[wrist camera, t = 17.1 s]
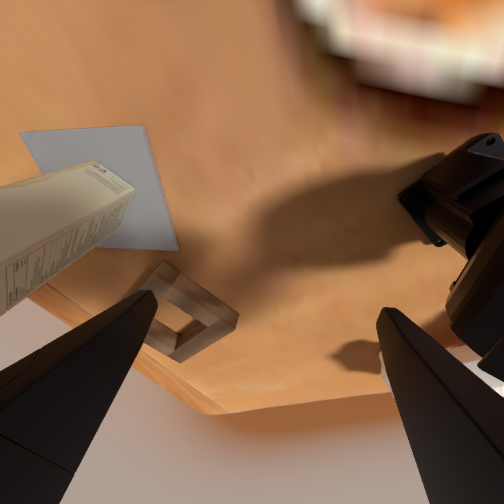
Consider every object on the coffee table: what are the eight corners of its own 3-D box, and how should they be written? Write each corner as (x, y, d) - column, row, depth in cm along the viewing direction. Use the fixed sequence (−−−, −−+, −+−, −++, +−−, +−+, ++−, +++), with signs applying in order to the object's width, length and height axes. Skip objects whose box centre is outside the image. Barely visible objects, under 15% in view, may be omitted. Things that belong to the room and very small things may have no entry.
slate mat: (144, 124, 18) (140, 125, 17) (179, 248, 24) (177, 250, 24) (25, 131, 20) (18, 132, 19) (87, 244, 26) (83, 246, 26)
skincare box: (95, 158, 19) (-120, 209, 9) (139, 190, 20) (-10, 268, 10) (81, 207, 22) (-89, 286, 12) (120, 233, 24) (-8, 324, 14)
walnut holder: (239, 314, 29) (235, 329, 27) (186, 348, 36) (180, 363, 34) (163, 259, 25) (152, 272, 23) (122, 309, 32) (110, 323, 30)
